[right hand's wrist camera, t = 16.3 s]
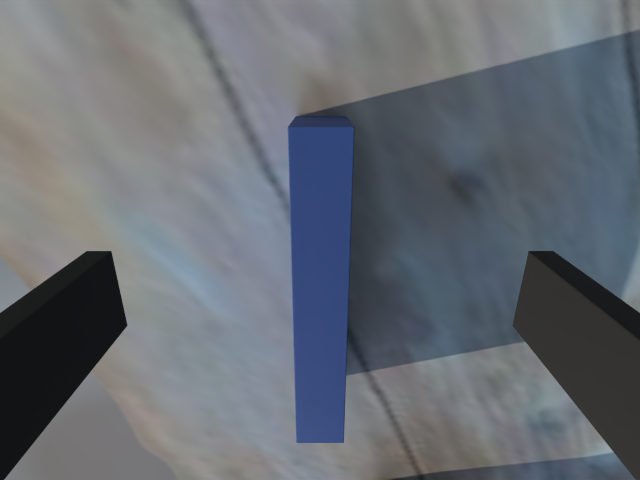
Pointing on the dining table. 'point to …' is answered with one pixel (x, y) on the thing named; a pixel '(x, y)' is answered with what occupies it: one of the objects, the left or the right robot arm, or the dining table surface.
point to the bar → (320, 271)
